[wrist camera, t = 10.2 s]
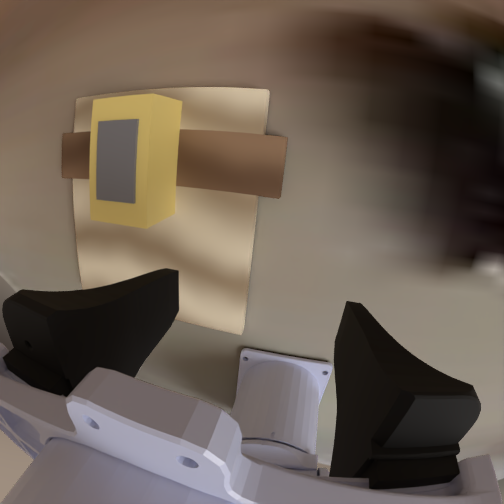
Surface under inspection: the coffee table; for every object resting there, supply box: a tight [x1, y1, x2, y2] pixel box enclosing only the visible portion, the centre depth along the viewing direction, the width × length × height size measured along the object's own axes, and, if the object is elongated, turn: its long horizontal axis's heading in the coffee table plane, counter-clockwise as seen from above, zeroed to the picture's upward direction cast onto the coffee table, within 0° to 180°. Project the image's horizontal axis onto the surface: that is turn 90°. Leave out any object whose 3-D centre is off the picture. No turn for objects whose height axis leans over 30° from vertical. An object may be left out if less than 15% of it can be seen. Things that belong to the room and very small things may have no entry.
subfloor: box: [62, 87, 288, 335], centre depth 22 cm, size 18×19×1 cm
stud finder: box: [89, 94, 182, 229], centre depth 18 cm, size 8×5×4 cm, turn 174°
